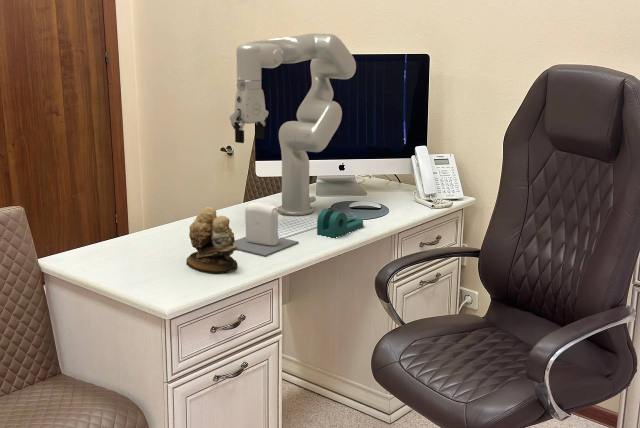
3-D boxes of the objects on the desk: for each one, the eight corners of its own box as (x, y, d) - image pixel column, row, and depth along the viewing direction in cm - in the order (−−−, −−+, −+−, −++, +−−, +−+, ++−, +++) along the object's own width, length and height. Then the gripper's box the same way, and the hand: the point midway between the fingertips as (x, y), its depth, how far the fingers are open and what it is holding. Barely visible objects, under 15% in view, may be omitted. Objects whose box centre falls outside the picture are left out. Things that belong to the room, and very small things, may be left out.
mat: (257, 234, 232) (257, 232, 232) (298, 243, 223) (298, 241, 223) (223, 246, 219) (223, 244, 219) (265, 257, 210) (265, 255, 210)
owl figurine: (251, 268, 202) (250, 208, 197) (218, 279, 193) (216, 217, 189) (208, 253, 213) (206, 196, 209) (175, 263, 205) (172, 204, 200)
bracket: (334, 239, 228) (334, 215, 226) (317, 235, 232) (317, 211, 230) (366, 226, 242) (367, 203, 240) (350, 223, 246) (350, 200, 244)
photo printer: (243, 242, 222) (242, 202, 219) (251, 238, 225) (250, 199, 222) (272, 247, 217) (272, 206, 214) (280, 243, 221) (280, 203, 217)
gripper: (239, 88, 219) (240, 145, 223) (276, 84, 232) (276, 138, 237) (221, 86, 223) (222, 143, 227) (257, 82, 237) (258, 135, 241)
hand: (249, 140), depth 232 cm, fingers open, 9 cm apart
